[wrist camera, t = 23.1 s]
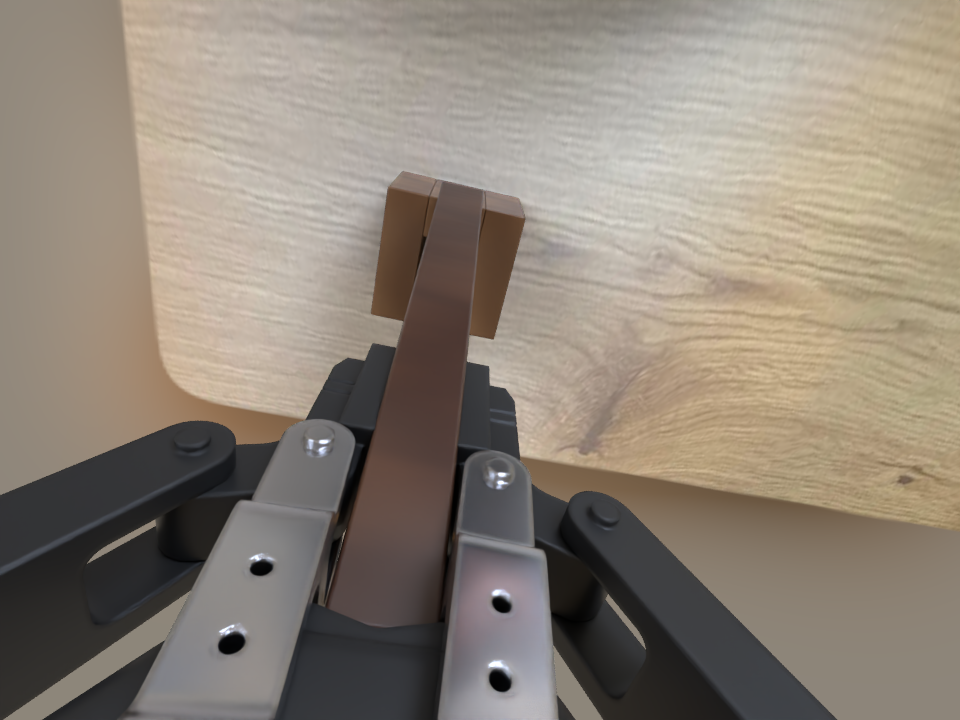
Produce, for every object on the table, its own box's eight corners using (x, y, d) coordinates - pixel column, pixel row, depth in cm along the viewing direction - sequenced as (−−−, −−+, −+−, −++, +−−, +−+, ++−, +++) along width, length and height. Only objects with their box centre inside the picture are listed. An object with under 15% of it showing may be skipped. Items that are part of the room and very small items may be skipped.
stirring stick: (435, 220, 20) (317, 668, 8) (442, 180, 19) (319, 622, 7) (475, 229, 20) (422, 682, 8) (484, 190, 19) (439, 639, 7)
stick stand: (385, 283, 26) (370, 314, 22) (401, 170, 23) (388, 186, 20) (491, 305, 26) (493, 339, 23) (519, 197, 24) (526, 217, 20)
